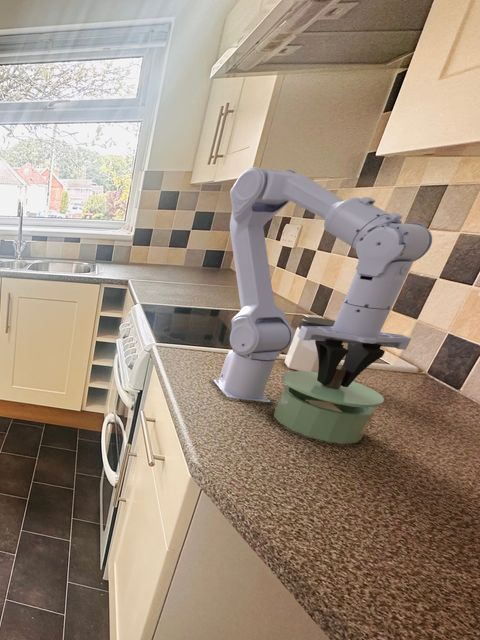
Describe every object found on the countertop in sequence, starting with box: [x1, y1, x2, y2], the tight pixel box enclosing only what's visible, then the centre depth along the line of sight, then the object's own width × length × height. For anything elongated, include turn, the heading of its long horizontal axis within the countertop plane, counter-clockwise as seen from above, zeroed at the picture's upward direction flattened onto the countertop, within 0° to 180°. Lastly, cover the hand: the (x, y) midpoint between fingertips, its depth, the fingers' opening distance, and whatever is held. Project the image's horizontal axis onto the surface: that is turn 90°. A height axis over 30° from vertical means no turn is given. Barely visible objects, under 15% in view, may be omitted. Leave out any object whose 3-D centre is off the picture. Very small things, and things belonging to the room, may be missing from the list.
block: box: [305, 400, 342, 412], centre depth 75 cm, size 4×4×4 cm
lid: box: [281, 365, 385, 408], centre depth 71 cm, size 14×14×5 cm
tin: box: [273, 384, 376, 445], centre depth 74 cm, size 13×13×6 cm
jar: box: [284, 316, 336, 373], centre depth 101 cm, size 9×8×12 cm
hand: (331, 383), depth 71 cm, fingers closed on lid, 2 cm apart
